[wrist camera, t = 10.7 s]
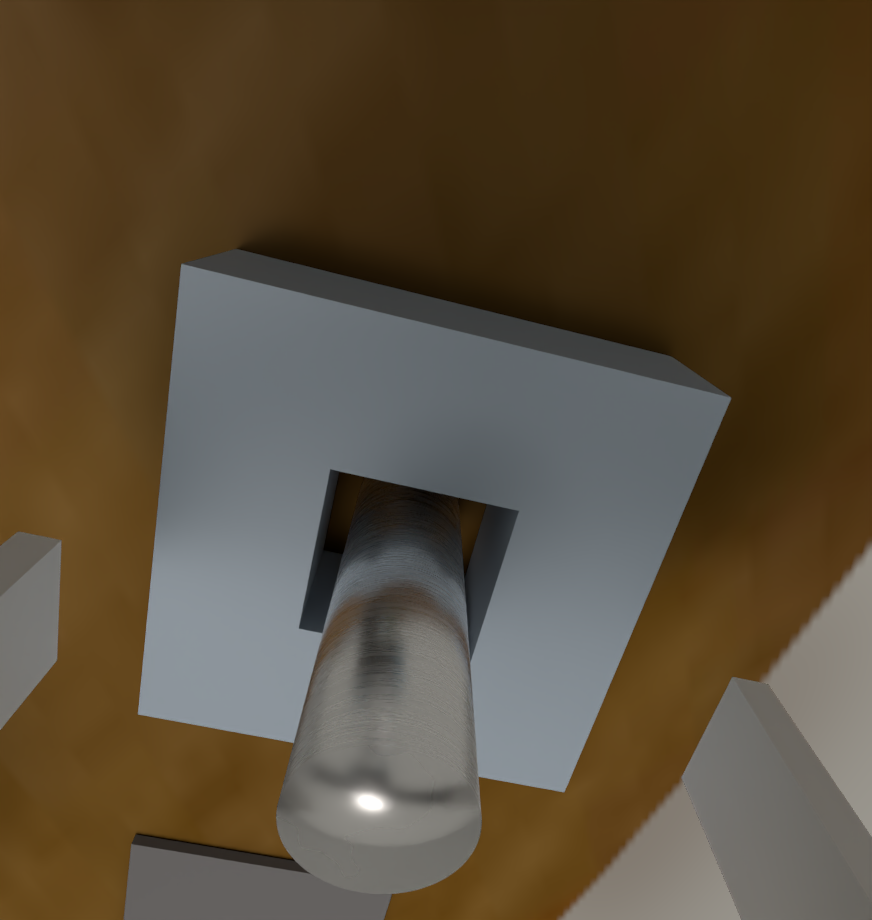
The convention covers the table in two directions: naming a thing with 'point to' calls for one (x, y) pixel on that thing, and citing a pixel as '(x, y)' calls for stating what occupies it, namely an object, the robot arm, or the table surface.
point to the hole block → (414, 465)
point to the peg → (389, 707)
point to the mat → (233, 887)
